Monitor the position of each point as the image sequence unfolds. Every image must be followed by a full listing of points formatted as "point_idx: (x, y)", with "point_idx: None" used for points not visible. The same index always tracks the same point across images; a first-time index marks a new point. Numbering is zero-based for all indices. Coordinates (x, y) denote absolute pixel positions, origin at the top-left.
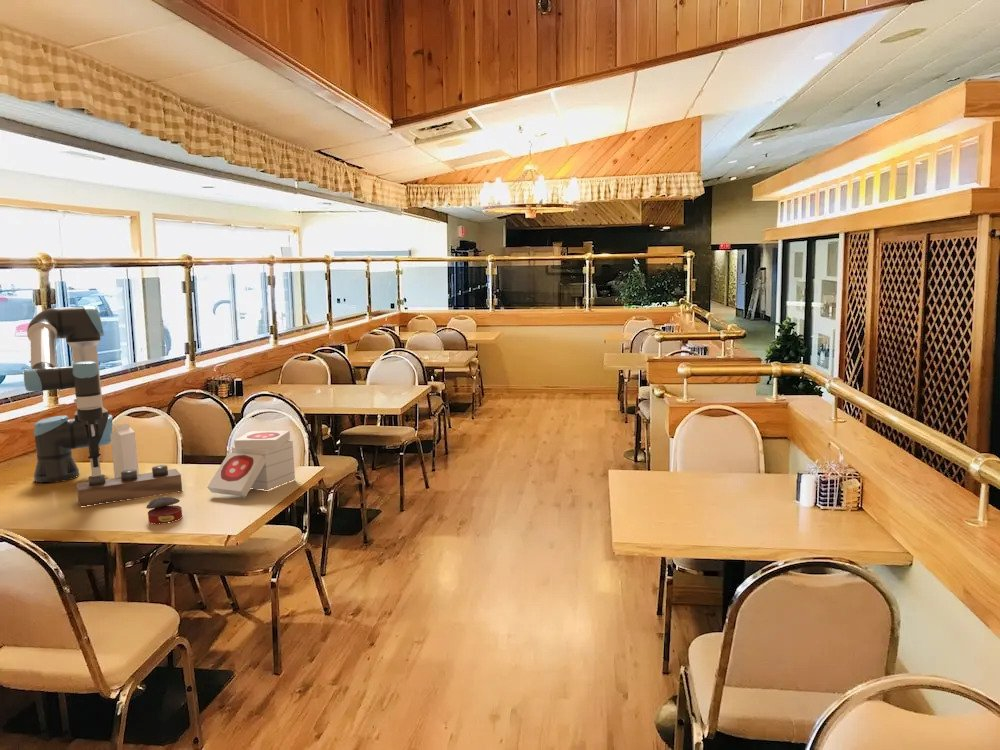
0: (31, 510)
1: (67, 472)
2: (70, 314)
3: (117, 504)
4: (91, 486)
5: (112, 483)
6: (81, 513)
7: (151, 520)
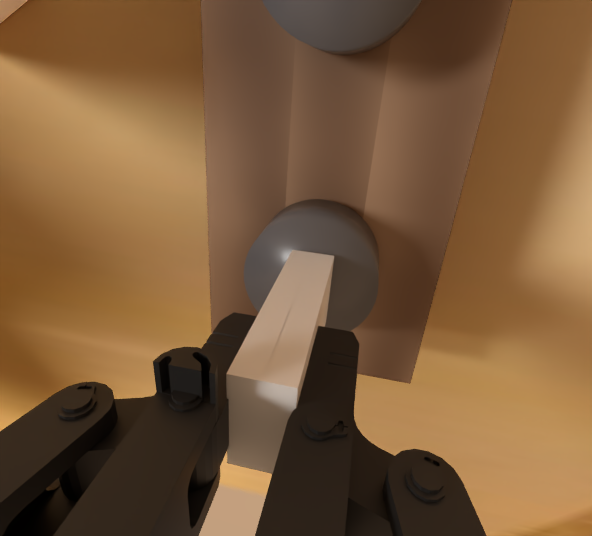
0: None
1: None
2: None
3: (518, 137)
4: None
5: (399, 155)
6: (524, 337)
7: None
